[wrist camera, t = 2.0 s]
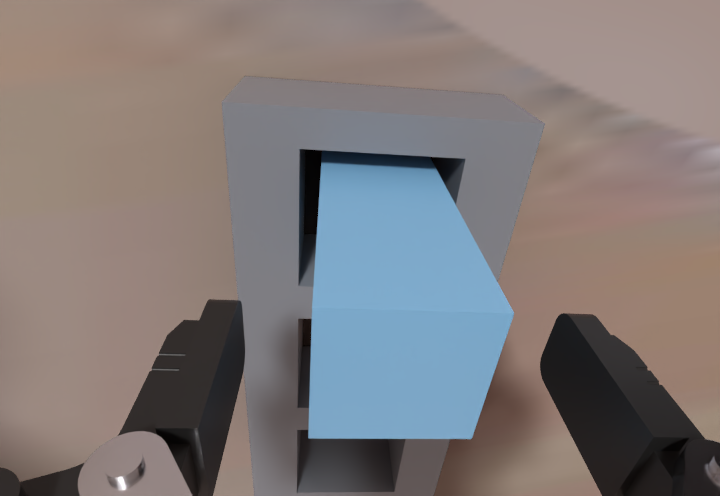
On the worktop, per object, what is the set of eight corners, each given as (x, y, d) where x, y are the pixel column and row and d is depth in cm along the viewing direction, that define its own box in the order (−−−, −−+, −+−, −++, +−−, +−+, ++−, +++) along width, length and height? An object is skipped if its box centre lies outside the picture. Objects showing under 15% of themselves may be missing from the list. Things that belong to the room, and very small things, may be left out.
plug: (323, 133, 18) (311, 307, 8) (420, 139, 18) (514, 313, 9) (319, 220, 20) (307, 438, 10) (407, 224, 20) (471, 439, 11)
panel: (244, 75, 16) (221, 102, 13) (503, 94, 17) (545, 123, 14) (264, 441, 28) (255, 506, 24) (419, 441, 29) (431, 504, 25)
